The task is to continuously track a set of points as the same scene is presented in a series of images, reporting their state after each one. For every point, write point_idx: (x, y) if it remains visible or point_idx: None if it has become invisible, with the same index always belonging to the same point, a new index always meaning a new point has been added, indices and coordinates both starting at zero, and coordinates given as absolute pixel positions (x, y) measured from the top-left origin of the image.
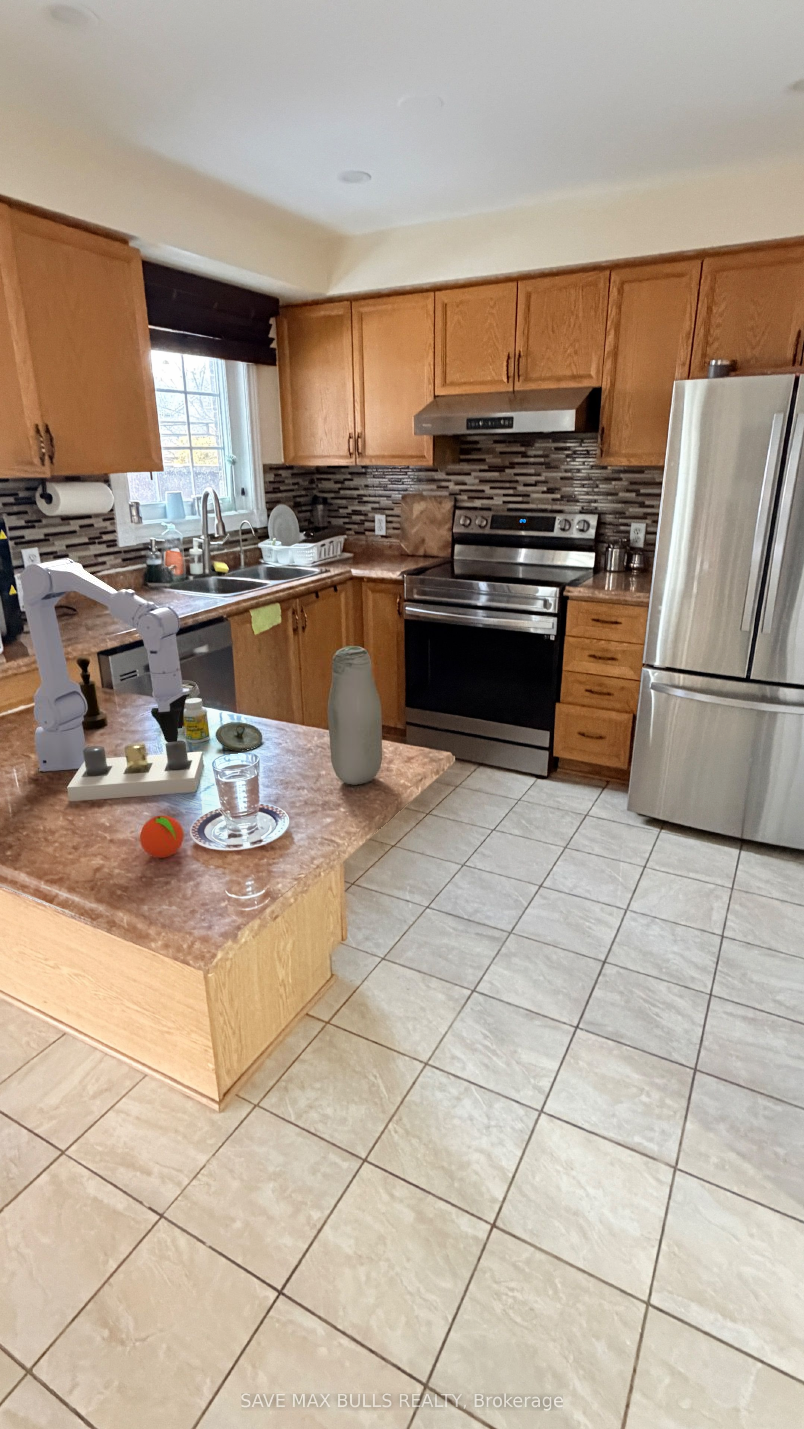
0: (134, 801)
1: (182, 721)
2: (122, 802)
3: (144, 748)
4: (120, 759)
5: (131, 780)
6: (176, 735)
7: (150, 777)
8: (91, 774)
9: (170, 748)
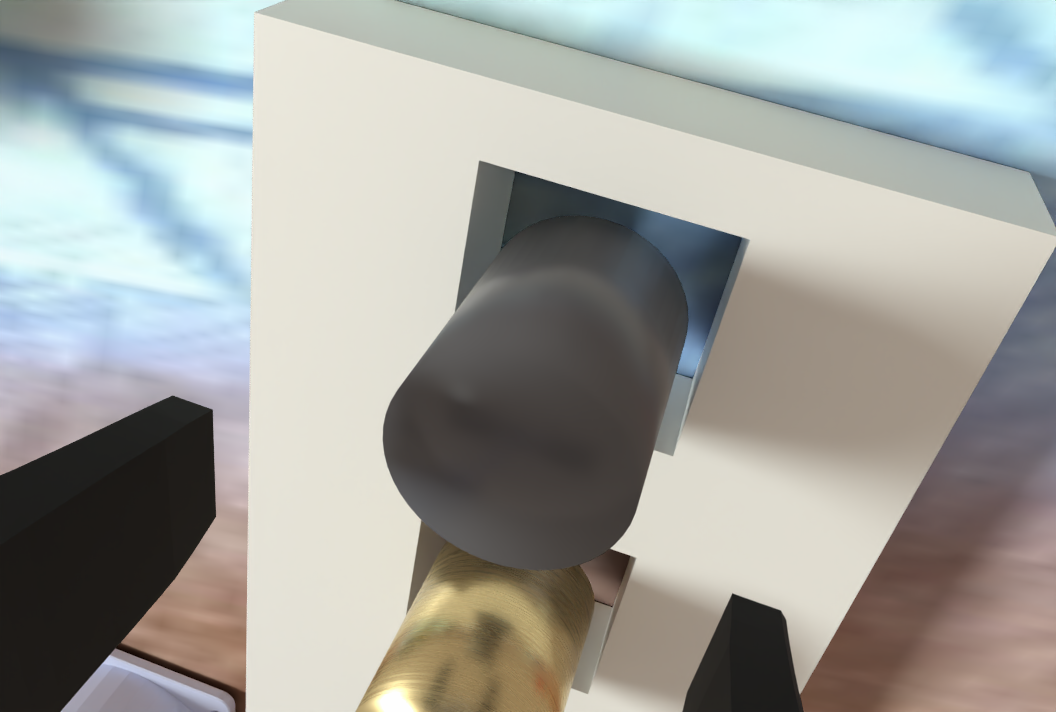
0: (899, 616)
1: (134, 462)
2: (866, 671)
3: (485, 706)
4: (289, 636)
5: None
6: (800, 702)
7: (767, 574)
8: None
9: (616, 536)
